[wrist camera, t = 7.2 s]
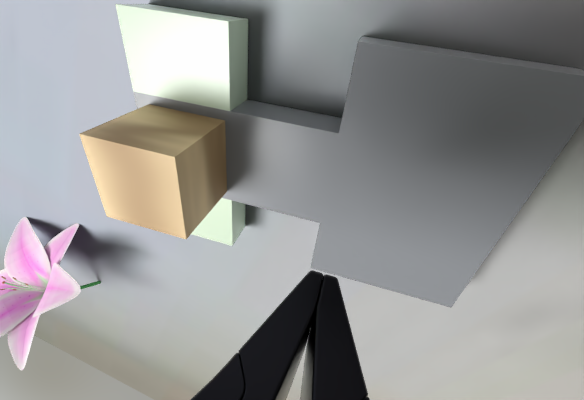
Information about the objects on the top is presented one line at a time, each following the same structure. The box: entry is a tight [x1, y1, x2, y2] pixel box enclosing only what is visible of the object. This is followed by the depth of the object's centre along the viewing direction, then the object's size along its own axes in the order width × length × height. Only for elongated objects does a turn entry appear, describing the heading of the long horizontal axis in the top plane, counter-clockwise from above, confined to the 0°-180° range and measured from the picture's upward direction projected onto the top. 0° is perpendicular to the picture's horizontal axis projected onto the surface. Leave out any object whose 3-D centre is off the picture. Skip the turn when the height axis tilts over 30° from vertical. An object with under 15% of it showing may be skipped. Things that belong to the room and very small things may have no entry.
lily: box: [0, 217, 101, 370], centre depth 25 cm, size 12×12×10 cm
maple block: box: [79, 104, 227, 239], centre depth 13 cm, size 4×4×4 cm
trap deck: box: [116, 4, 584, 307], centre depth 15 cm, size 18×12×2 cm, turn 84°
